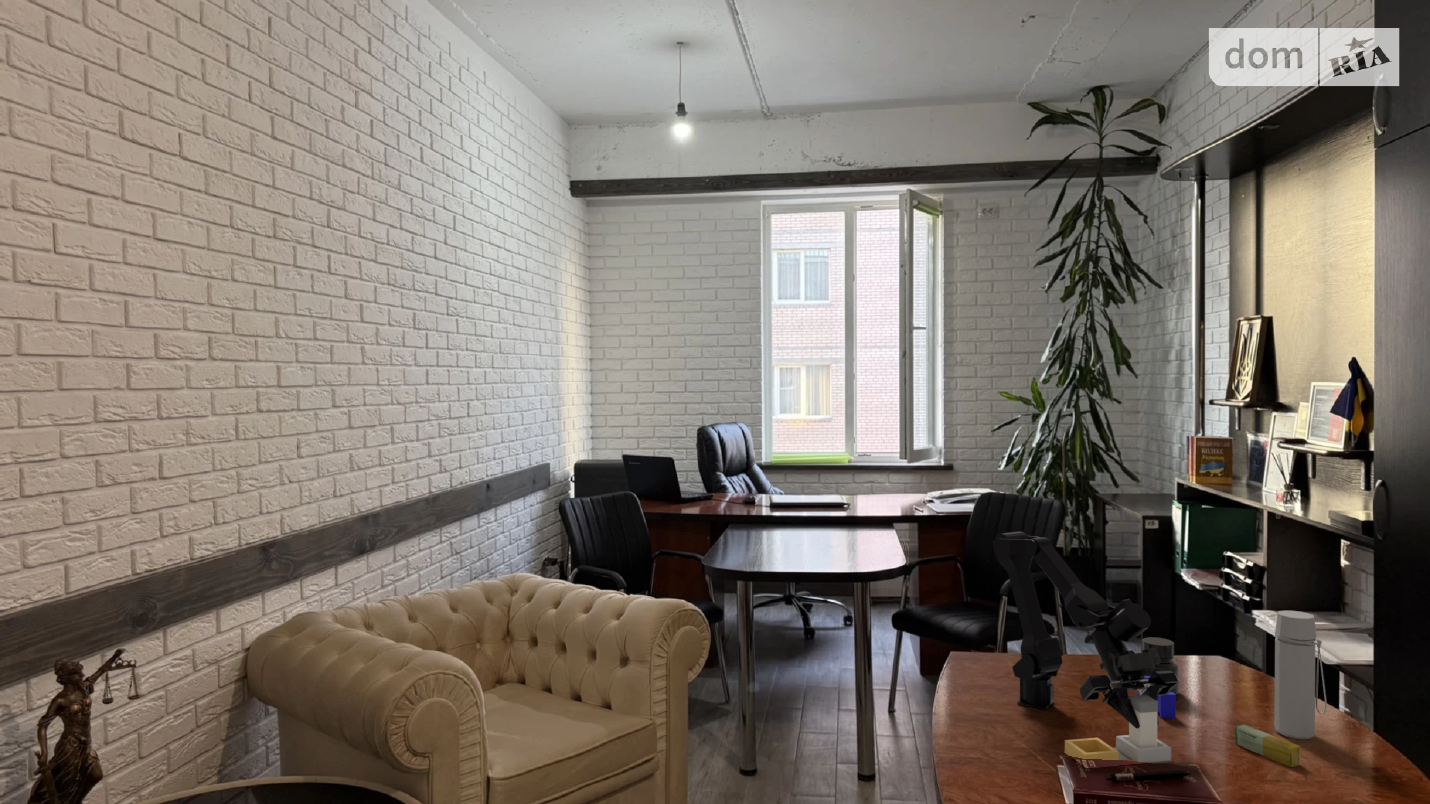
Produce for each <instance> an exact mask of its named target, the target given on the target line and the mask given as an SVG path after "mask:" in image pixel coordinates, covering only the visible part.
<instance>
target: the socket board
mask: <svg viewBox="0 0 1430 804" xmlns="http://www.w3.org/2000/svg"><path fill="white" fill-rule="evenodd" d="M1063 753H1064V754H1065V755H1067V756H1068V757H1069V756H1072V757H1078V758H1082V759H1102V760H1134V761H1138V762H1148V763H1152V764H1163V763H1172V762H1173V760H1172V747H1171V746H1170V745H1168V744H1166V743H1165V742H1164V741H1161V740H1160V739H1158V738H1157V747H1149V748H1138V747H1136V746H1135V745H1133V744H1132V743H1130V742H1129V734H1126V735H1116V737H1115V747H1112V746H1111V745H1109V744H1108V743H1106V742H1105V741H1103V740H1102V739H1100V738H1099V737H1088V738H1076V739H1065V740H1064V751H1063ZM1173 763H1174V762H1173Z"/></svg>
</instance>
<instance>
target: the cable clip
mask: <svg viewBox="0 0 1430 804" xmlns="http://www.w3.org/2000/svg"><path fill="white" fill-rule="evenodd" d="M1149 677H1150V676H1144V679H1148V678H1149ZM1136 691H1137V695H1140V694H1139V691H1138V690H1136ZM1137 695H1136V696H1137ZM1176 696H1177V695H1175V694H1174V693H1173V692H1169V693H1168V694H1166V695H1162V696H1157V701H1158V716H1159V717H1160V719H1172V720H1173V719H1177V718H1176V717H1177V716H1176V711H1177V710H1176V707H1177V706H1176V703H1177V702H1176V701H1177V699H1176Z"/></svg>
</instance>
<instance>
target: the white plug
mask: <svg viewBox="0 0 1430 804" xmlns="http://www.w3.org/2000/svg"><path fill="white" fill-rule="evenodd" d="M1128 699H1129V701H1130V703H1131V705H1132V708H1133V710H1134V712H1135V714H1136V716H1137V718H1138V721H1139V724H1140V727H1139V728H1135V727H1134V726H1133V725H1132V724H1131V723H1130V722H1128V732H1129V733H1128V735H1129V742H1130V743H1132V744H1133V745H1135V746H1136V747H1138V748H1149V747H1157V739H1158V726H1157V712H1158V701H1156V700H1154V699H1153V698H1151V697H1149V696H1147V695H1128Z"/></svg>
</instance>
